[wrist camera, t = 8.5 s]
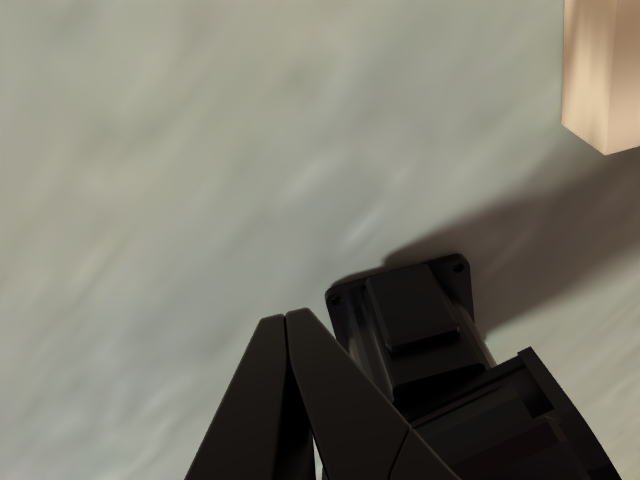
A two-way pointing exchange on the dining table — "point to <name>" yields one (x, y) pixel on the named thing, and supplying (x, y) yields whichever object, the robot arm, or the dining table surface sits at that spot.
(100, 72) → the dining table surface
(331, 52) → the dining table surface
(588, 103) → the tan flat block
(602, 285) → the dining table surface
